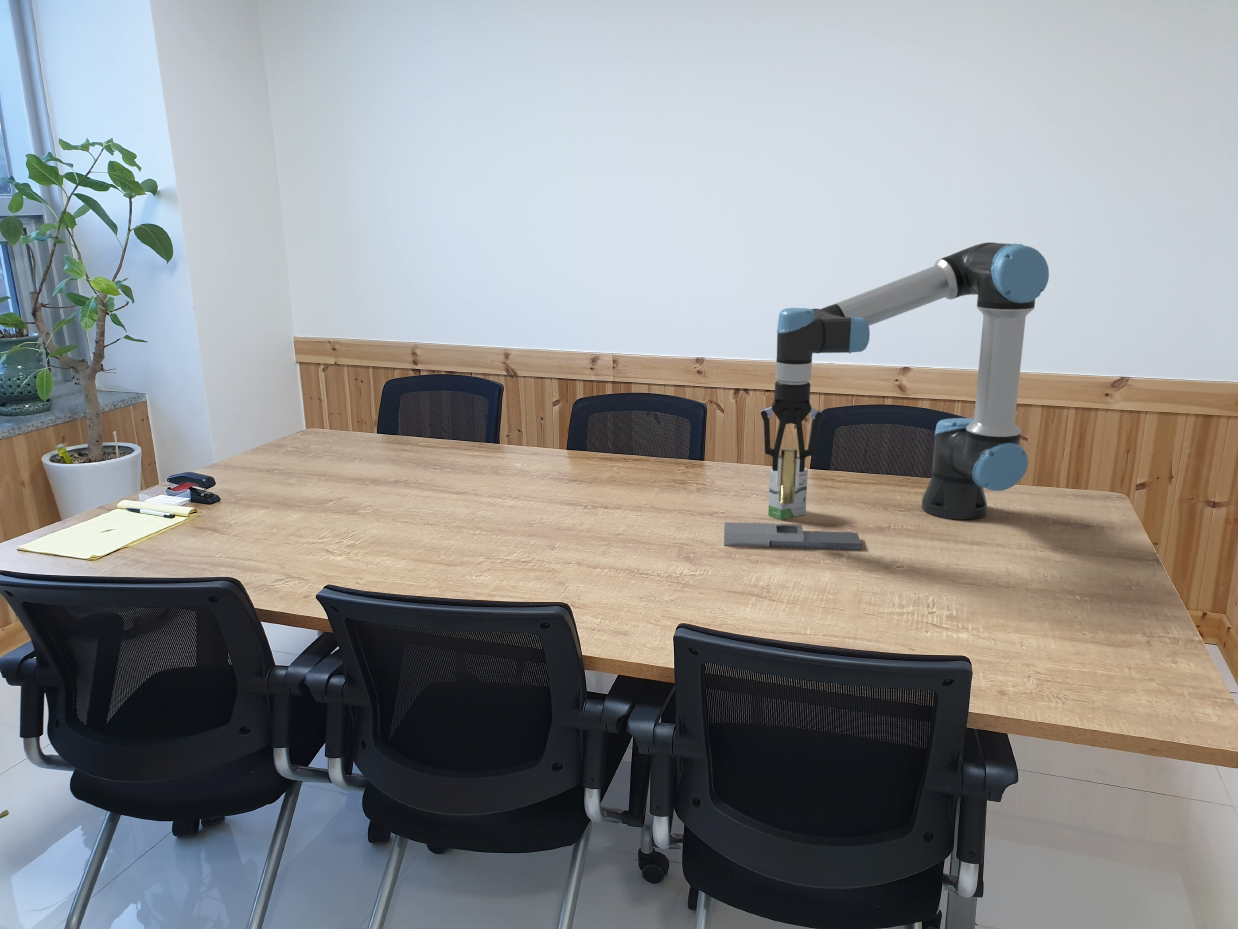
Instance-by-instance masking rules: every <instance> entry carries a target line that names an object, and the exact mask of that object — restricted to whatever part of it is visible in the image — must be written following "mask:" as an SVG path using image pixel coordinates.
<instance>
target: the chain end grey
mask: <svg viewBox="0 0 1238 929" xmlns="http://www.w3.org/2000/svg"><path fill="white" fill-rule="evenodd" d="M803 531H804V530H803V526H802V524H798V523H797V524H796V523H795V524H793V523H792V524H791V523H766V522H765V523H763V522H762V523H761V522H734V521H733V522H732V521H731V522H729V521H725V522H724V532H723V546H732V547H735V546H736V547H737V546H738V547H759V548H760V547H761V548H763V547H765V548H770V547H771V541H796V542H803V539H804V534H803ZM777 532H796V533H777Z"/></svg>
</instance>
